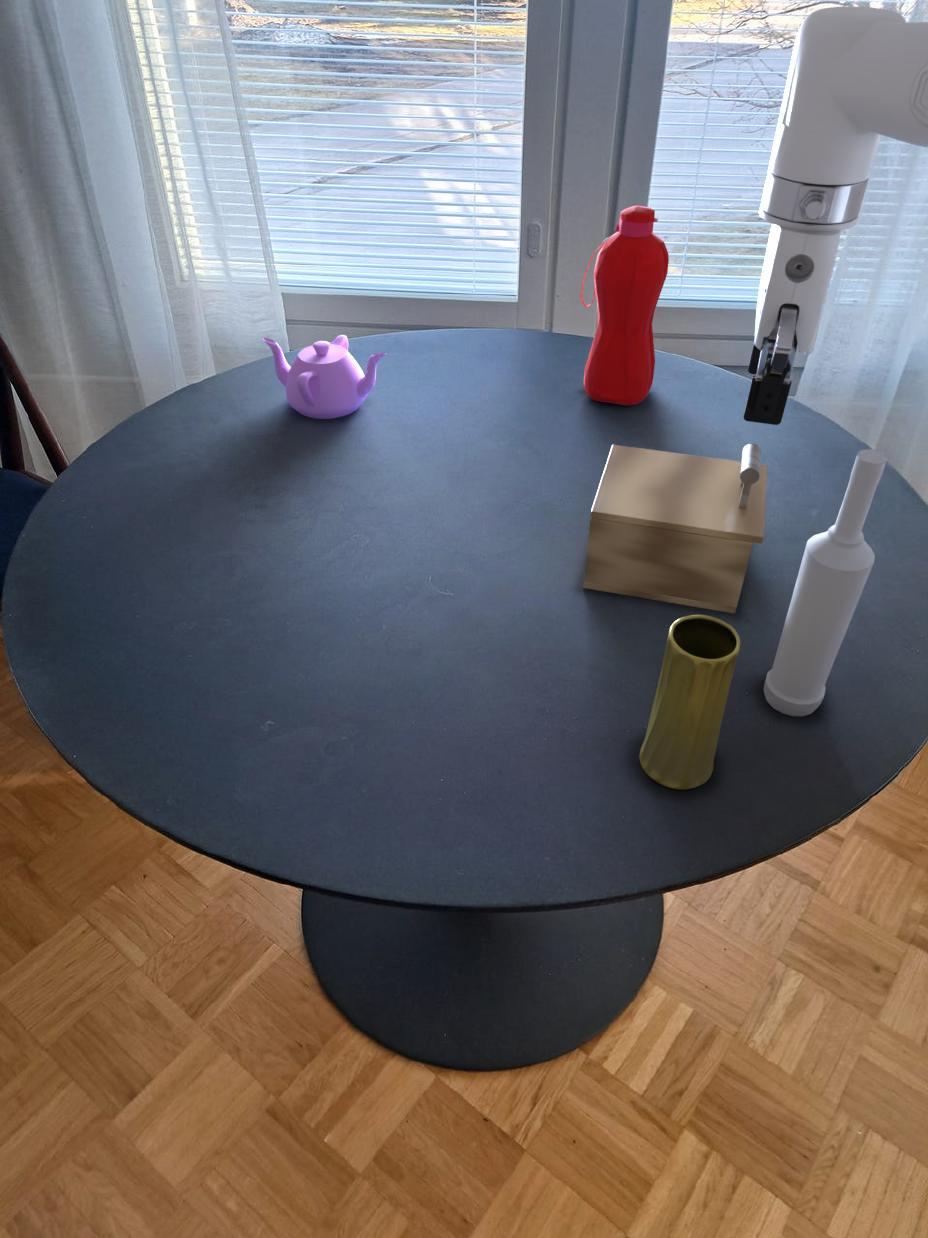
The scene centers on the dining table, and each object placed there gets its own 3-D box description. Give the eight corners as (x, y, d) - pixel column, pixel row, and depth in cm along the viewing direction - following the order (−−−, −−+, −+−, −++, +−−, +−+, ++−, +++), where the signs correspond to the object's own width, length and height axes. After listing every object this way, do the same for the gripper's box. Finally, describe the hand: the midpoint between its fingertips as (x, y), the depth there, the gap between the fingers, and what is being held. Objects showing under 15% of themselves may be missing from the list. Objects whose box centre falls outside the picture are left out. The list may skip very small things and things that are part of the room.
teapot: (271, 395, 126) (261, 335, 120) (362, 376, 130) (356, 318, 125) (295, 431, 118) (285, 369, 112) (390, 410, 122) (386, 349, 116)
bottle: (804, 674, 82) (886, 435, 65) (831, 714, 78) (925, 471, 61) (752, 681, 81) (821, 442, 65) (776, 722, 77) (857, 478, 61)
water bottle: (581, 373, 131) (596, 193, 114) (654, 383, 128) (681, 201, 111) (566, 400, 124) (579, 214, 108) (642, 412, 121) (668, 222, 105)
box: (741, 538, 98) (757, 470, 92) (735, 613, 88) (753, 543, 83) (603, 517, 102) (611, 451, 96) (582, 587, 92) (590, 518, 86)
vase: (647, 727, 77) (671, 602, 67) (718, 746, 75) (752, 621, 66) (631, 778, 72) (655, 653, 63) (706, 800, 71) (741, 674, 61)
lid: (765, 471, 92) (777, 425, 89) (761, 544, 82) (774, 495, 79) (611, 450, 96) (616, 405, 92) (590, 517, 86) (595, 470, 82)
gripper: (868, 236, 62) (806, 448, 73) (856, 173, 75) (804, 362, 86) (759, 227, 64) (715, 436, 75) (765, 166, 76) (726, 353, 87)
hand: (762, 396), depth 80 cm, fingers open, 9 cm apart
